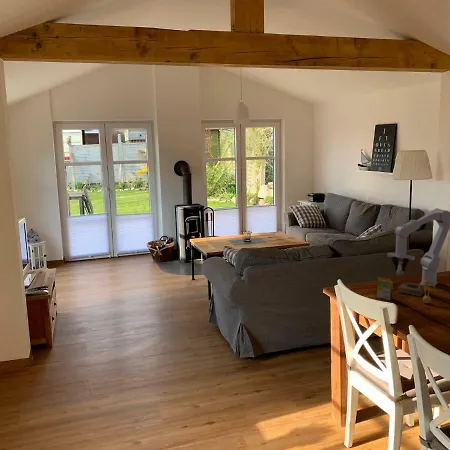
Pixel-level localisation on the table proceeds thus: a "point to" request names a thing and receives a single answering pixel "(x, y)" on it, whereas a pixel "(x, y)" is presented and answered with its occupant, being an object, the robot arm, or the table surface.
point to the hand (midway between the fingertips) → (400, 270)
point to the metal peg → (400, 268)
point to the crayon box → (384, 288)
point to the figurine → (426, 298)
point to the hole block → (411, 289)
